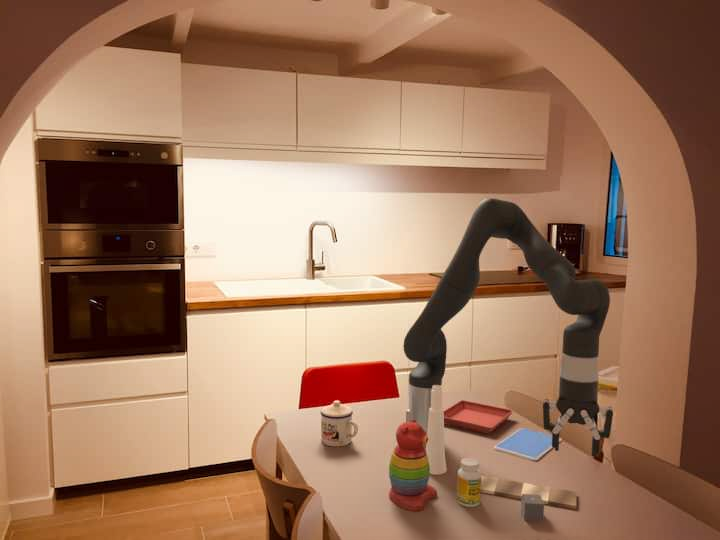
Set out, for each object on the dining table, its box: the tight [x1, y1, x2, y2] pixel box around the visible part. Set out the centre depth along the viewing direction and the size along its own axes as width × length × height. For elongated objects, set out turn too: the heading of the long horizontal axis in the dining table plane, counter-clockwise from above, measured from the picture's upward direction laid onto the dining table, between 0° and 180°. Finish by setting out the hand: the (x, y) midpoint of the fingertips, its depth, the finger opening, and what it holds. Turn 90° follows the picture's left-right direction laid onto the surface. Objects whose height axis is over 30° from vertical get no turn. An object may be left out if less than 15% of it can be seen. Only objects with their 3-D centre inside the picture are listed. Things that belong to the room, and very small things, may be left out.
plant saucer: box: [444, 399, 514, 435], centre depth 184 cm, size 18×18×3 cm
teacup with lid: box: [320, 400, 359, 447], centre depth 166 cm, size 12×9×12 cm
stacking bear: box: [388, 419, 438, 512], centre depth 135 cm, size 11×10×18 cm
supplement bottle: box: [456, 457, 482, 508], centre depth 133 cm, size 5×5×10 cm
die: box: [520, 494, 545, 522], centre depth 128 cm, size 4×4×4 cm
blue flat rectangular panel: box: [494, 427, 562, 462], centre depth 166 cm, size 19×13×1 cm, turn 141°
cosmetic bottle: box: [425, 385, 448, 476], centre depth 148 cm, size 6×6×22 cm
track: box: [481, 475, 577, 510], centre depth 138 cm, size 24×7×1 cm, turn 69°
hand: (575, 452), depth 123 cm, fingers open, 6 cm apart
